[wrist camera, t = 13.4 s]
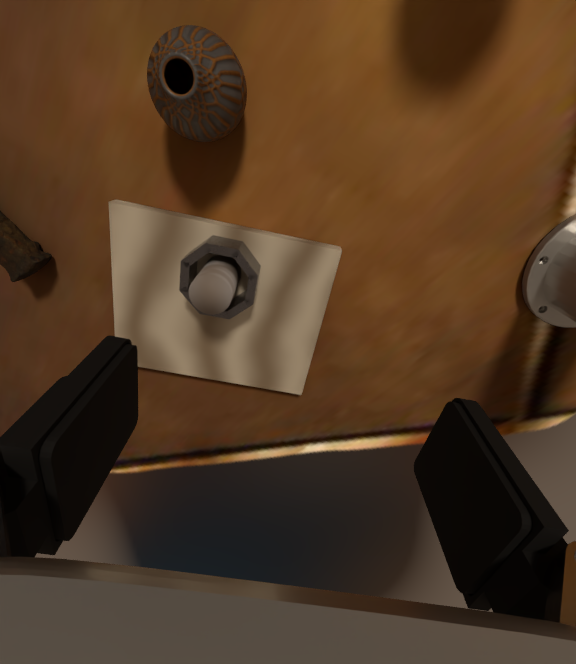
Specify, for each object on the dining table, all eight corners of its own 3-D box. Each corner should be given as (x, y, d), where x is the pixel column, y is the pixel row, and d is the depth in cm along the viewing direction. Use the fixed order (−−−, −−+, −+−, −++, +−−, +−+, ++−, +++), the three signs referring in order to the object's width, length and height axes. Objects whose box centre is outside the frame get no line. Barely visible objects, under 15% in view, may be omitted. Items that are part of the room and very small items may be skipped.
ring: (264, 245, 33) (261, 254, 30) (253, 310, 36) (250, 323, 34) (191, 230, 32) (181, 238, 30) (187, 297, 36) (178, 310, 33)
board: (340, 246, 34) (350, 270, 28) (301, 387, 43) (302, 431, 36) (116, 199, 33) (70, 213, 26) (121, 355, 41) (88, 396, 34)
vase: (228, 158, 31) (206, 163, 23) (156, 111, 29) (105, 99, 21) (266, 77, 28) (255, 51, 20) (188, 20, 26) (143, -32, 19)
